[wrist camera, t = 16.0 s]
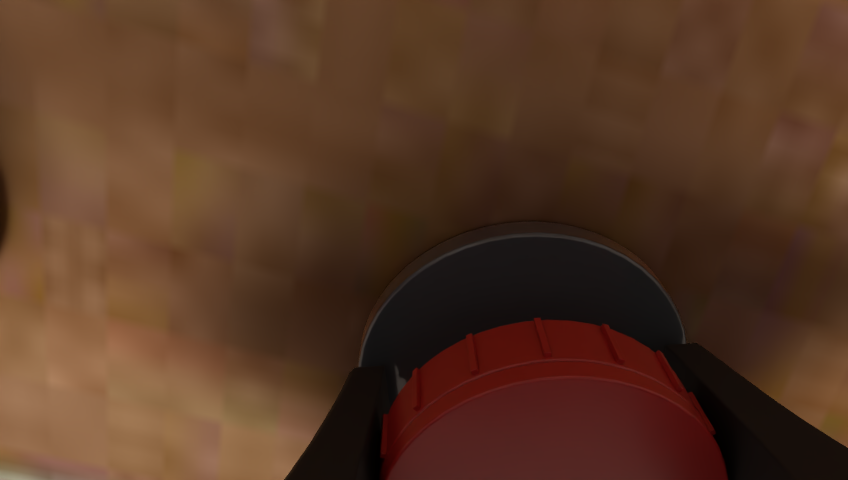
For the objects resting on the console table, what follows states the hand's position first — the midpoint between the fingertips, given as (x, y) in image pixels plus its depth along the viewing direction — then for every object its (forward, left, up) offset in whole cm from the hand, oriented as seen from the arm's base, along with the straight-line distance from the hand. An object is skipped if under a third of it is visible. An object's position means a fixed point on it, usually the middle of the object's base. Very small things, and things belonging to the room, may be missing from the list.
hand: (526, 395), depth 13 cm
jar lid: (0, 0, +2) cm, 3 cm away
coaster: (0, 0, -1) cm, 1 cm away
